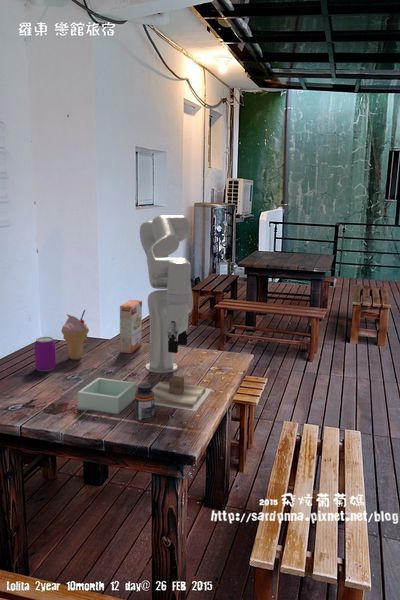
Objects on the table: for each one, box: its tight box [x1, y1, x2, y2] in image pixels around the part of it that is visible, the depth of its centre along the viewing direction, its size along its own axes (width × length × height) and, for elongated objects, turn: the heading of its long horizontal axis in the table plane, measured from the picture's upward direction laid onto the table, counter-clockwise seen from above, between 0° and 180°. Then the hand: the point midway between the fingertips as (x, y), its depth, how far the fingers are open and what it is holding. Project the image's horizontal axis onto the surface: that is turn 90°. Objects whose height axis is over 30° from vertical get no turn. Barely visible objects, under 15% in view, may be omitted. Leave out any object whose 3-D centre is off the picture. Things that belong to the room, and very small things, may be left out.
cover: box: [153, 375, 207, 408], centre depth 179 cm, size 16×16×6 cm
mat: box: [151, 381, 213, 412], centre depth 180 cm, size 20×20×1 cm
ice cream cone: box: [61, 309, 90, 360], centre depth 216 cm, size 11×11×20 cm
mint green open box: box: [77, 377, 137, 415], centre depth 172 cm, size 14×14×6 cm
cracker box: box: [119, 299, 143, 354], centre depth 231 cm, size 14×6×21 cm, turn 168°
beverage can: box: [34, 336, 57, 372], centre depth 203 cm, size 8×8×12 cm
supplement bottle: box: [134, 382, 155, 424], centre depth 161 cm, size 6×6×11 cm
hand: (177, 348), depth 176 cm, fingers open, 9 cm apart
